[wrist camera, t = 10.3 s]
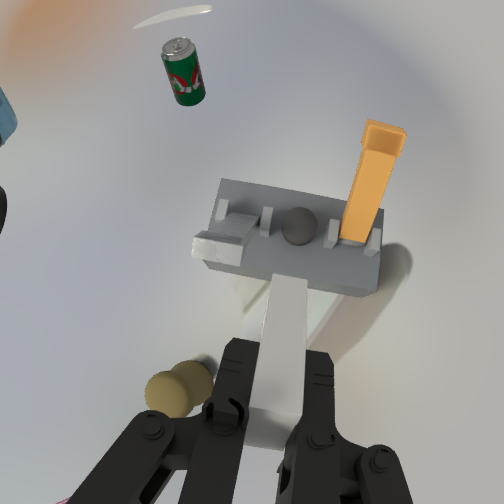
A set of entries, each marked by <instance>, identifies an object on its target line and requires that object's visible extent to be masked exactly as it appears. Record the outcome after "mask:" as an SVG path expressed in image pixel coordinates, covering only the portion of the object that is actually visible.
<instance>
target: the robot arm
mask: <svg viewBox="0 0 504 504" xmlns="http://www.w3.org/2000/svg"><path fill="white" fill-rule="evenodd" d="M16 127H17V118H16V115H15V113H14V111H13V109H12V107H11V105H10V103H9V101H8V99H7V98H6V96H5V94H4V92H3V91H2V89H1V87H0V147H1V146H2V145H4V144H5V141H6V140H7V139H8V137H10V136H11V134H12V133H13V132H14V131H15V129H16ZM6 212H7V198H6V194H5V191H4V190H3V188H1V186H0V233H1V231H2V228H3V226H4V222H5V217H6ZM307 281H308V280H306V279H301V278H295V277H290V276H284V275H279V274H273V275H272V280H271V285H270V291H269V295H268V300H267V305H266V310H265V315H264V320H263V326H262V331H261V337H260V342H254V341H249V340H244V339H239V338H233V339H232V340H231V341H230V342H229V343H228V344H227V345H226V346H225V349H224V353H223V357H222V360H221V363H220V367H219V370H218V374H217V377H216V380H215V384H214V387H213V391H212V394H211V397H210V398H208V399H207V400H206V401H205V403H204V404H203V406H202V412H201V413H199V414H198V415H195V416H192V417H185V418H170V417H168V416H167V415H166V414H165V413H163V412H160V411H157V410H147V411H144V412H141V413H139V414H138V415H137V416H135V417H134V418H133V419H132V421H131V422H130V423H129V425H128V426H127V427H126V428H125V430H124V431H123V432H122V433H121V435H120V436H119V437H118V438H117V440H116V441H115V442H114V444H113V445H112V446H111V447H110V449H109V450H108V451H107V452H106V454H105V455H104V456H103V457H102V459H101V460H100V461H99V462H98V464H97V465H96V466H95V468H94V469H93V470H92V471H91V472H90V474H89V475H88V476H87V477H86V479H85V480H84V481H83V482H82V484H81V485H80V486H79V488H78V489H77V490H76V491H75V493H74V494H73V495H72V496H71V497H70V499H69V500H68V501H67V502H66V504H154V503H155V501H156V500H157V498H158V497H159V495H160V494H161V492H162V491H163V489H164V487H165V486H166V485H167V483H168V482H169V480H170V479H171V477H172V476H173V474H174V472H175V471H176V470H187V474H186V477H185V481H184V484H183V488H182V491H181V495H180V498H179V501H178V504H232V499H233V494H234V489H235V484H236V479H237V474H238V469H239V464H240V459H241V454H242V449H243V445H247V446H253V447H259V448H266V449H272V450H279V451H283V450H284V448H285V454H284V459H283V461H282V462H281V464H280V465H279V467H278V470H277V473H279V482H278V489H277V496H276V503H275V504H413V501H412V498H411V495H410V492H409V489H408V485H407V482H406V479H405V476H404V473H403V470H402V467H401V464H400V461H399V458H398V457H397V455H396V453H395V451H393V450H392V449H391V448H390V447H388V446H385V445H373V446H371V447H368V448H365V447H362V446H359V445H356V444H354V443H351V442H349V441H347V440H346V439H344V438H343V437H342V436H341V435H340V434H339V432H338V431H337V428H336V426H335V399H334V364H333V362H332V360H331V358H330V356H329V354H328V353H325V352H318V351H311V350H306V327H307Z"/></svg>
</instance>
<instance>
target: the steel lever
mask: <svg viewBox="0 0 504 504" xmlns="http://www.w3.org/2000/svg"><path fill="white" fill-rule="evenodd" d="M260 220H261V217H258V216H252V215H247V214H241V213H235V212H231V213H230V214H229V215H227V216H226V217H225V218H223V219H222V220H221V221H219V222H218V223H217V224H215V225H214V226H213V227H211V228H210V229H208V231H201V232H200V233H198V234H197V235H196V236H194V237H193V245H192V254H191V257H193V258H199V259H203V260H208V261H213V262H218V263H223V264H228V265H234V266H239V267H240V265H241V264H242V262H243V260H244V258H245V253H246V248H247V246H248V244H249V243H250V241H251V239H252V238H253V236H254V234H255V233H256V231H257V228H259V225H260Z"/></svg>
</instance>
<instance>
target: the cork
mask: <svg viewBox="0 0 504 504" xmlns="http://www.w3.org/2000/svg"><path fill="white" fill-rule="evenodd" d="M213 387H214V382H213V378H212V375H211V373H210V372H209V370H208V369H207V368H206V367H205V366H204V365H202V364H200V363H198V362H196V361H189V360H188V361H183V362H180V363H179V364H177V365H175V366H174V367H173V368H172V369H171V370H170V371H163V372H159V373H157V374H156V375H154V376H153V377H152V378H151V379H150V380H149V381H148V383H147V386H146V388H145V400H146V404H147V405H148V407H149V408H150V410H157V411H160V412H163V413H165V414H166V415H167V416H168V417H170V418H184V417H186V416H187V415H188V414H189V413H190V412H191V411H192V410H193V408H194V407H195V406H197V405H200V404H202V403H204V402H205V401H206V400H207V399H208V398H210V396H211V394H212V391H213Z"/></svg>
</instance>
